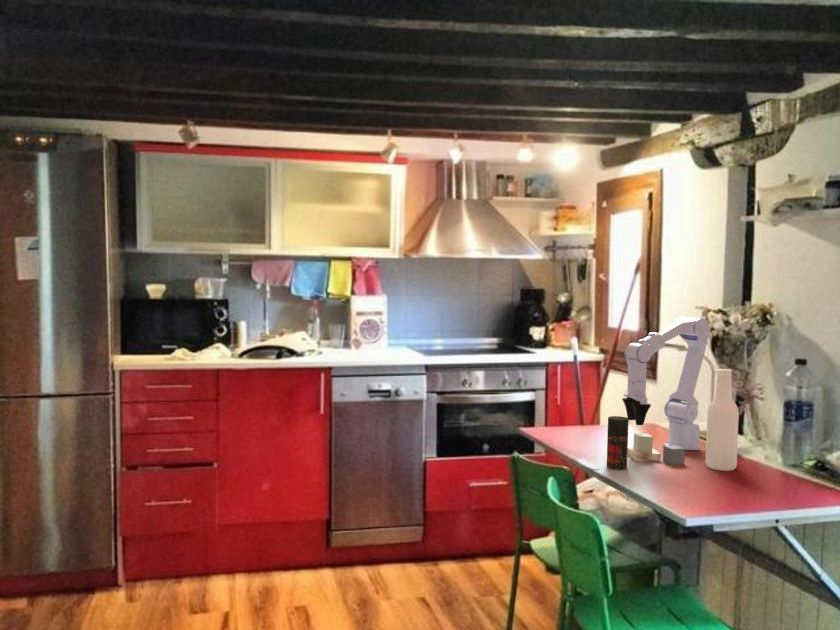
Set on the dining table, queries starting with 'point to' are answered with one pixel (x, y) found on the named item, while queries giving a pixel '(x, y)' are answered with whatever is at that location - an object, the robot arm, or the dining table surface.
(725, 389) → the alcohol
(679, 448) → the grey cube
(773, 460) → the dining table surface
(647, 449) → the sage cube
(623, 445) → the deodorant
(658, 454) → the birch slab
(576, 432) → the dining table surface
